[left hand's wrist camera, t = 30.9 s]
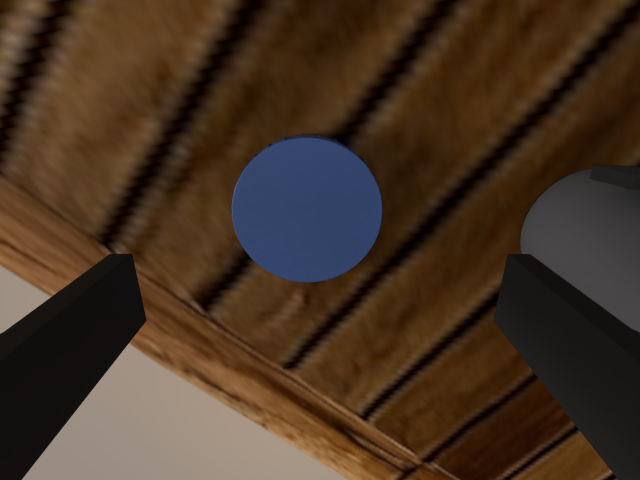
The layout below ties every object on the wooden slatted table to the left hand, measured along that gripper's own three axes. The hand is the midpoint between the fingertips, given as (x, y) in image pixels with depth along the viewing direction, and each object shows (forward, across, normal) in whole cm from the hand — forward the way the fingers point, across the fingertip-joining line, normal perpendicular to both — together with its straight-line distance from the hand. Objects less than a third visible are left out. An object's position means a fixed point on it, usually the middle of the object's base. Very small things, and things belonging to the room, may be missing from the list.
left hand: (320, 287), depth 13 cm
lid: (+11, -1, -1) cm, 11 cm away
